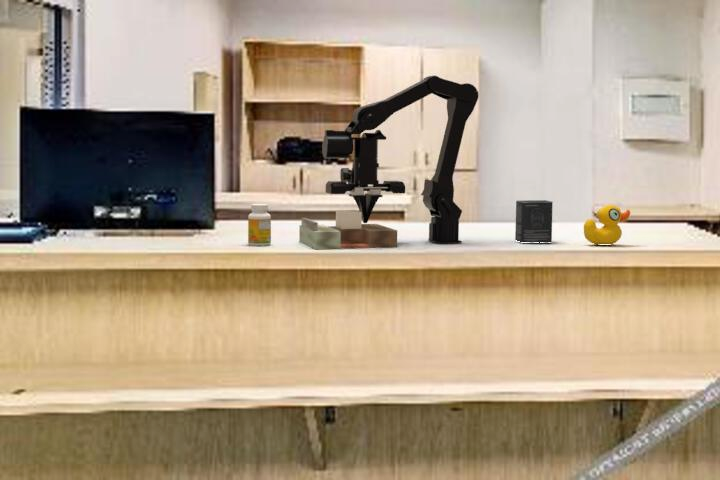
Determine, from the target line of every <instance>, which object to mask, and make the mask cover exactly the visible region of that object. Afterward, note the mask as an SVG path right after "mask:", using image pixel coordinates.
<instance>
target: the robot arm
mask: <svg viewBox="0 0 720 480" xmlns="http://www.w3.org/2000/svg"><path fill="white" fill-rule="evenodd" d="M479 94H480V93H479V91H478V89H477V88H476V86H475V85H473V84H471V83H468V82H467V83H458V82H455V81H452V80H448V79H444V78H442V77H439V76H437V75H429V76H425V77H424V78H423V79H422V80H420V81H418V82H416V83H414V84H412V85H410V86H409V87H407V88H405V89H403V90H401V91H399V92H397V93H395V94H393V95H391V96H389V97H387V98H385V99H382V100H380V101H375V102H372V103H369V104H366V105H362V106H359V107H357V108H356V109H354V111H353V114H352V116H351V117H352V119H351V121H350V122H349V124H348V125H347V126H346V128H345V129H344V130H333V129H325V131H324V136H323V141H322V143H321V148H322V149H321V151H322V156H323V158H324V159H348V158H349V157H350V156H351V155H353V162H352V168H351V169H350V167H342V168H340V171H339V173H340V175H339V177H340V181H339V180H338V181H337V180H333V181H332V180H328V181H327V182H326V183H325V194H326V193H327V194H330V195H344V194H346V193H347V192H349V193H348V197H352V198H353V200H354V201H355V204H356V205H357V208H358V211H360V212H362V216H361V221H362V222H363V223H362V224H368V222H369V219H370V217H371V215H372V211H374V210H373V209H374V208H375V206H376V203H377V202H378V200H379V199H380V198H383V194H381V193H382V192H386V193H387V192H388V193H389V192H390V193H392V194H405V193H406V186H405V185H406V183H404V182H403V181H401V180H383V183H380V182H379V181H380V180H378V168H379V167H380V163H379V162H378V161H379V160H378V157H379V156H378V154H379V153H378V152H379V151H378V147H379V146H378V143H379V142H378V141H379V140H380V141H383V140H384V141H386V140H387V136H385V134H383V132H382V131H381V130H380V129H377V128H378V127H379V126H381V125H382V124H383V123H384V122H386V121H387V120H388V119H389V118H390V117H391V116H392V115H394V114H395V113H396V112H398V111H401V110H403V109H404V108H406V107H408V106H410V105H412V104H414V103H417V101H420V100H422V99H423V98H426V97H427V96H430V95H435V96H437V97H438V98H441V99H444V100H446V113H447V122H446V126H445V130H444V134H443V139H442V142H441V147H440V150H439V155H438V159H437V164H436V168H435V172H434V175H433V176H432V178H431V179H424V184H423V185H424V186H423V190H422V192H421V193H420V195H421V196H422V202H423V204H424V207H425V208H427V209H428V211H429V215H430V216H431V218H430V222H429V224H428V240H427V241H429V242H433V243H434V244H451V243H452V244H455V243H456V244H459V243H462V240H459V235H460V234H459V232H460V231H459V230H460V229H459V228H460V226H459V225H460V218H461V216H462V213H463V210H462V209H461V208H460V207H459V206H458V205H457V204H456V203H455V202H454V195H455V186H454V173H455V169H456V165H457V161H458V156H459V152H460V148H461V144H462V139H463V137H464V132H465V126H466V124H467V121H468V119H469V118H470V117H471V115H472V113H473V112H474V110H475V107H476V105H477V102H478V99H479ZM375 129H377V130H375ZM372 130H375V132H365V131H372ZM352 135H361V137H359V136H358V137H357V136H355V137H354V136H352ZM364 192H366V193H364Z"/></svg>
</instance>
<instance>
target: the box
mask: <svg viewBox="0 0 720 480" xmlns="http://www.w3.org/2000/svg"><path fill="white" fill-rule="evenodd" d="M515 205H516V206H515V237H514V238H515V240H517V241H520V242H539V243H538V244H541V243H540V242H552V243H553V241H552V237H553V234H552V233H553V201H550V200H545V199H544V200H542V199H541V200H539V199H538V200H537V199H536V200H532V199H531V200H527V199H526V200H516V203H515ZM515 240H514V241H515Z"/></svg>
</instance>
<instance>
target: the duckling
mask: <svg viewBox="0 0 720 480" xmlns="http://www.w3.org/2000/svg"><path fill="white" fill-rule="evenodd" d="M630 215H631V211H630V209H626V211H624V212H622V211H621V209H620V208H619V207H618V206H616V205H613V204H608V205H605V206H603V207H602V208H600V209H599V210H597V211H596V216H597V218H598V220H599V222H600V223H601V224H602V225H603V226H602V227H600V228H598V227H597V225H596V222H595V220H594V219H592V218H588V219H587V220H586V221H585V222H584V224H583V234H584V238H585V239H586V240H587V241H588V242H589V243H591V244H593V243H594V244H593V245H596V244H613V243H615V244H616V243H617V242H618V241H619V240H620V239H621V237H622V234H623V233H622V229H621V226H620V225H618V224H619V223H620V222H625V221H627V220H628V219H629V218H630ZM613 245H614V244H613Z"/></svg>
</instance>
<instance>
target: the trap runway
mask: <svg viewBox="0 0 720 480" xmlns="http://www.w3.org/2000/svg"><path fill="white" fill-rule="evenodd" d="M300 220H301V224H300V225H299V239H298V240H299V241H298V242H300V243H301V244H304V245H306V246H308V247H310V248H312V249H314V250H336V249H337V250H339V249H340V250H341V248H348V249H375V248H376V249H377V248H379V249H381V248H385V249H386V248H397V247H398V230H397V229H395V228H391V227H388V226H384V225H381V224H378V223H361V229H340V228H337V227H336V225H334V226H333V225H331V226H330V225H329V226H328V225H325V224H318V221H315V220H313V219H309V218H307V217H301V219H300Z"/></svg>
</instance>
